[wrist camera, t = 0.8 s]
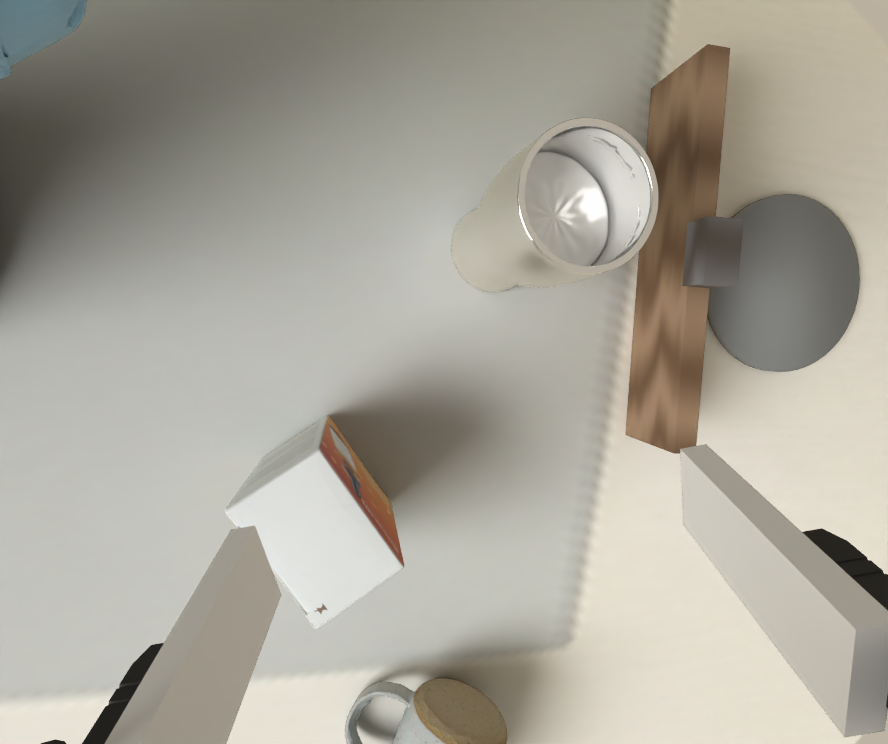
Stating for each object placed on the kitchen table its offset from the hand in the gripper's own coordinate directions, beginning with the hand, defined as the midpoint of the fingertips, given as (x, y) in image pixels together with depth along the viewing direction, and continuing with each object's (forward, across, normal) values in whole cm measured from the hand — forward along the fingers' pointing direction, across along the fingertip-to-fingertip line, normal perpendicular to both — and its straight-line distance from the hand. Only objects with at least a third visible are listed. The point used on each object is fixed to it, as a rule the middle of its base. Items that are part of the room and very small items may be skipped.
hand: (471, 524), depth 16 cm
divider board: (+26, +16, +1) cm, 30 cm away
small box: (+18, -10, -8) cm, 22 cm away
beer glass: (+24, +4, +5) cm, 25 cm away
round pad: (+27, +27, -3) cm, 38 cm away
